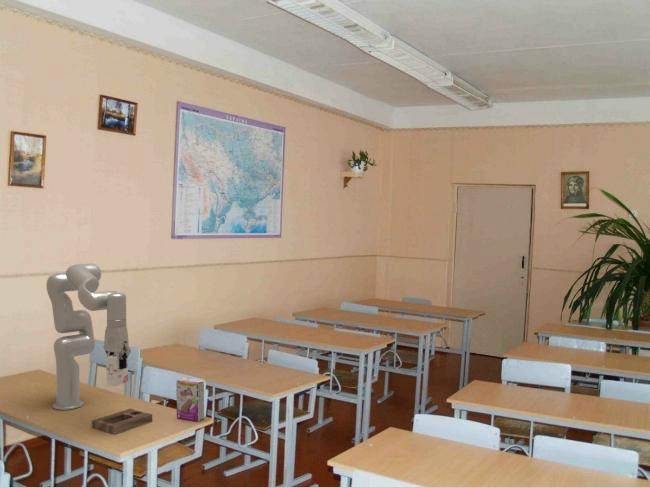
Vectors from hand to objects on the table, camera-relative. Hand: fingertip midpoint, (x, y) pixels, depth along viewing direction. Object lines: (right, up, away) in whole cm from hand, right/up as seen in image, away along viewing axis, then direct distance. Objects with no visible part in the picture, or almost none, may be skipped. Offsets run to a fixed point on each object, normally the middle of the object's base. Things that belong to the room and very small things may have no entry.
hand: (117, 367), depth 259 cm
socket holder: (+1, -24, +3) cm, 24 cm away
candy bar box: (+27, -24, +11) cm, 38 cm away
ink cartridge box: (0, -7, 0) cm, 7 cm away
